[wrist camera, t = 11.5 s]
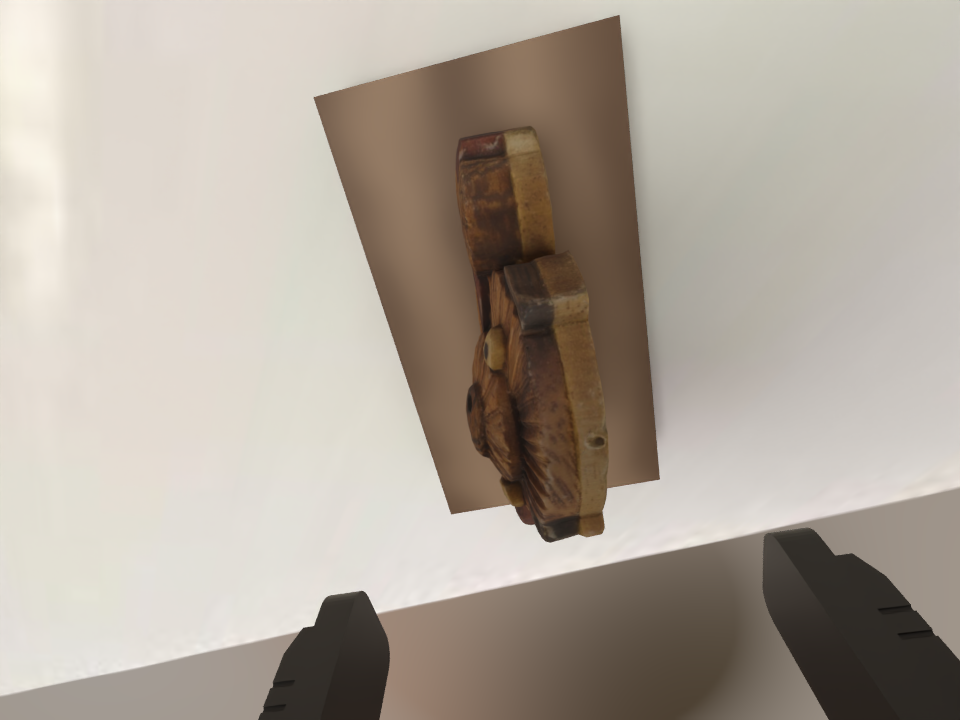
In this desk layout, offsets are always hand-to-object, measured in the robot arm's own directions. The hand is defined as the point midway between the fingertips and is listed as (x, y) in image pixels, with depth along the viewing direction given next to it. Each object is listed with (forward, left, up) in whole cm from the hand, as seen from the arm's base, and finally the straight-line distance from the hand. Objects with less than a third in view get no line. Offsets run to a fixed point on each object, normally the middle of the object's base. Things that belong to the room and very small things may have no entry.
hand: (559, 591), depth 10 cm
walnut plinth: (0, 0, -19) cm, 19 cm away
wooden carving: (0, 0, -15) cm, 15 cm away
